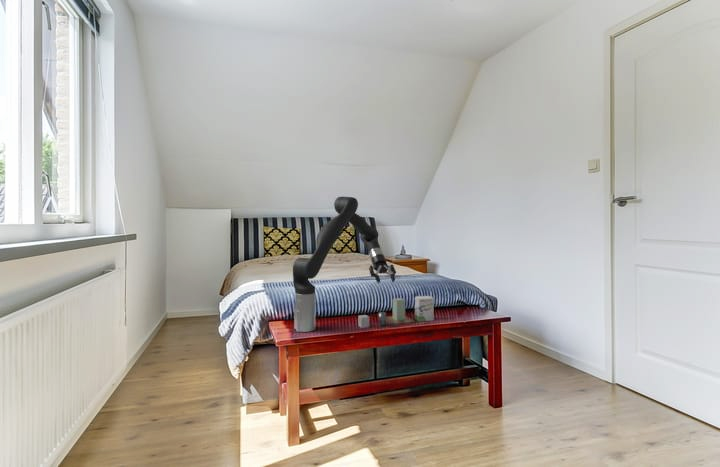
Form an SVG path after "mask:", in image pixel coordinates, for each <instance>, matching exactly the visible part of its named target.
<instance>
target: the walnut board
mask: <svg viewBox="0 0 720 467" xmlns="http://www.w3.org/2000/svg"><path fill="white" fill-rule="evenodd" d="M386 323H389V324H390V325H392V326H400V325H401V324H402V325H408V324H416V320H415V319H412V318H410V317H408V316H406V315H405V320H398V321H397V320H395V319H393V315H391V316H386Z"/></svg>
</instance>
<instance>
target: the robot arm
mask: <svg viewBox="0 0 720 467" xmlns="http://www.w3.org/2000/svg"><path fill="white" fill-rule="evenodd" d="M333 206H334V210H335V212H336V213H337V214H338V215H337V216H335V217H333V218H332V219H330V220H329V221H327V222H326V223H325V224H323V226H322V227H321V228H320V229H319V232H318V233H317V234H316V239H315V240H316V243H315V244H316V248H315V250H314V252H313V253H312V255H311V257H308V258H307V257H297V258H296V259H295V260H294V262H293V266H292V280H293V281H292V282H293V284H292V285H293V287H294V292H295V293H294V294H295V297H294V299H295V301H294V302H295V308H293V309H294V310H293V311H294V313H293V318H294V320H293V321H294V324H293V326H294V329H296V330H295V331H296V332H298V333H299V332H301V333H306V332H307V333H308V332H313V331H315V330H316V286H315V285H314V284H312V283H311V282H310V279H314V278H316V277H317V275H319V272H320V271H321V268H322V266H323V264H324V262H325V260H326V258H327V257H328V255H329V253H330V250H331V249H332V248H333V246H334V245H335V243H336V241H337V240H338V238H339V236H340V234H341V233H342V232H343V230H344V229H345V227H346V225H347V224H348V223H349V224H351V225H352V226H353V227H354V229H355V230H356V231H357V232H358V234H359V235H360V236H359V238H360V240H361V242H362V243H363V244H364V245H365V247H366V248H367V251H368V254H369V259H370V260H371V263H372V264H371V265H369V267H368V270H369V274H370V276H371V278H372V277H374V278H375V281H376V283H378V284H379V283H381V278H380V276H379V274H386V275H387V276H390V280H391V282H392V283H395V281H396V277H395V275H396V274H397V271H396V269H395V266H394V265H393V263H391V264H389V265H388V263H387V260H386V257H385V255H384V252H383V250H382V248H381V246H380V244H379V242H378V241H377V239H378V238H379V235H380V234H379V232H378V230H377V229H376V228H375V227H373V226H371V225H370V224H368V222H367V221H366V219H365V218H363V217H362V216H360V215H359V214H357V213H356V212H357V210H358V206H359V202H358V199H357V198H355V197H352V196H337V198H336V199H335V200H334V203H333Z"/></svg>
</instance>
